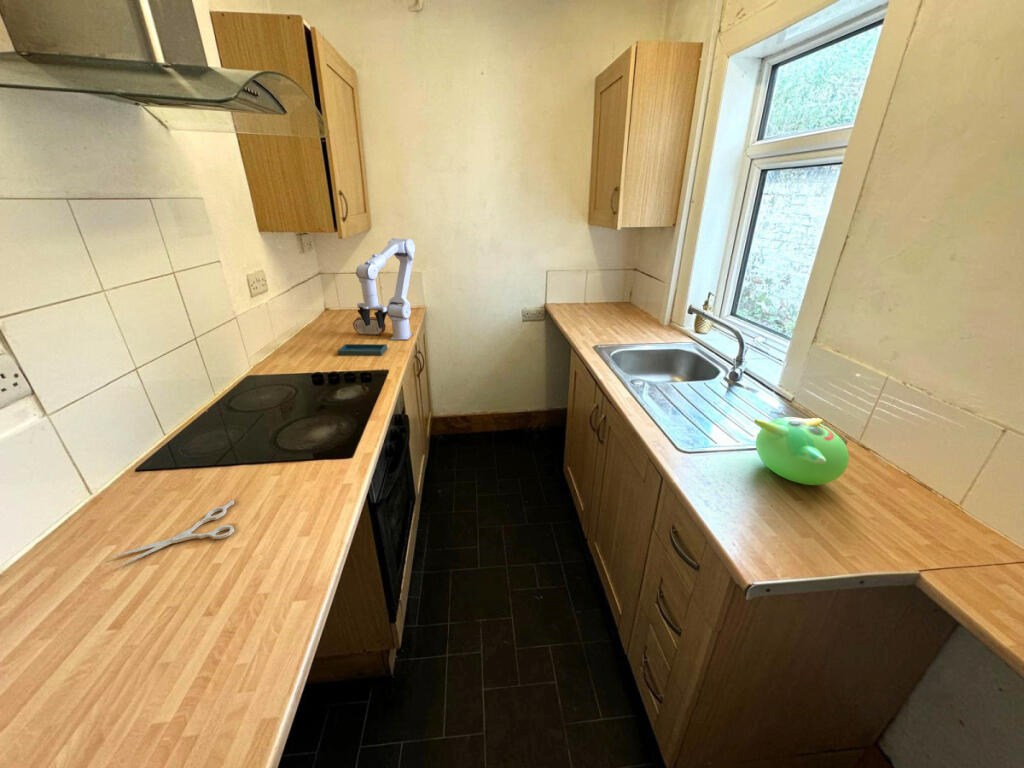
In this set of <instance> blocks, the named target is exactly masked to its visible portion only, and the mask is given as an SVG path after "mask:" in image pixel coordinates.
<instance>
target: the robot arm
mask: <svg viewBox="0 0 1024 768" xmlns="http://www.w3.org/2000/svg"><path fill="white" fill-rule="evenodd" d="M415 252H416V244H415V243H414V241H413V239H411V238H395V237H392V238H390V240H388V242H387V245H386V246H385V247H384V248H383V249H382V251H381V252H380V253H373V254H372V255H371V257H370V258H369V259H367V260H366V261H365V262H364V263H360V264H359V265H358V266H357V267H356V270H355V275H356V277H357V279H358V280H359V283H360V288H361V294H362V299H363V302H358V303H356V307H357V313H358V314H359V315H360V317H362V319H363V321H364V323H365V325H366V326H368V325H370V317H371V311H375V312H373V314H374V317H376V318H377V321H378V326H379V328H383V327H384V323H385V321H386V317H389V319H390V321H391V329H392V337H391V338H390V340H393V341H395V340H397V341H398V340H399V341H400V340H401V341H409V339H410V337H411V336H412V335H413V332H411V327H410V324H411V323H410V320H409V319H410V316H411V313H412V311H411V306H412V304H411V302H410V301H409V300H408V299H407V298H408V291H409V286H410V280H411V275H412V269H413V263H414V259H415V254H416V253H415ZM393 256H394V257H395V258H396V259H397V260H398V261H399V266H398V272H397V278H396V284H395V289H394V295H393V296H392V297H391V298H390V299H388V303H387V306H385V305H382V304H379V297H378V290H377V283H376V282H377V281H376V279H377V278H378V274H379V273H380V271H381V270H382V269H383V268H384V267H385V266H386V264H387V262H386V261H387V260H388V259H390V258H391V257H393Z"/></svg>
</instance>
